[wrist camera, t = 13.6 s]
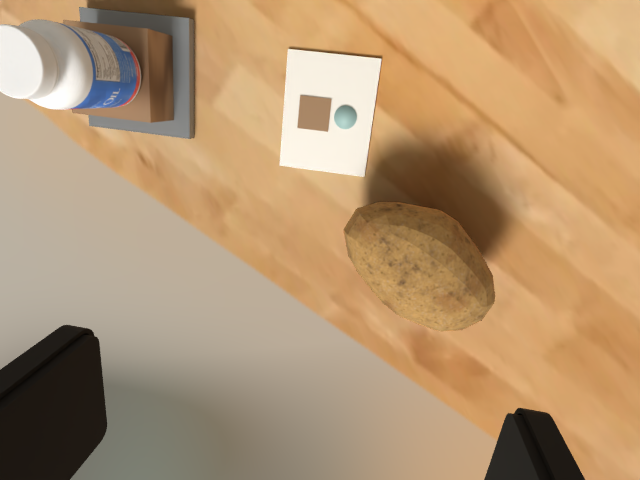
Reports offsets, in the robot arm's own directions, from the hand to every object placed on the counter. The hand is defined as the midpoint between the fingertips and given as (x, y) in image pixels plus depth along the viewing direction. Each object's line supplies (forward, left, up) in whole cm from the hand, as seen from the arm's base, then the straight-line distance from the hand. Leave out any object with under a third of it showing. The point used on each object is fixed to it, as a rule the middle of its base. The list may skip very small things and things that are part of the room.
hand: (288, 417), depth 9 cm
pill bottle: (-7, -21, -26) cm, 33 cm away
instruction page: (-5, -3, -30) cm, 31 cm away
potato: (+6, +6, -31) cm, 32 cm away
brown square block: (-6, -21, -29) cm, 37 cm away
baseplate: (-6, -21, -30) cm, 37 cm away
